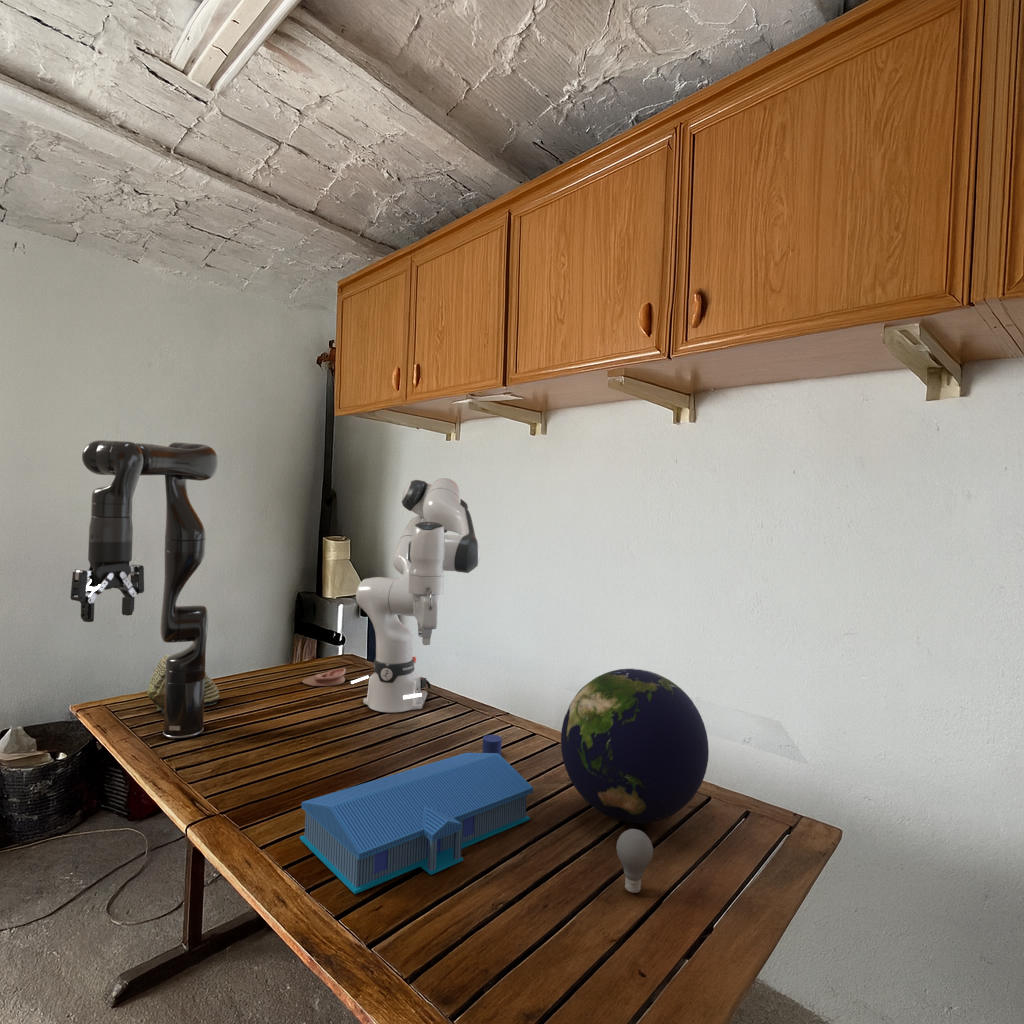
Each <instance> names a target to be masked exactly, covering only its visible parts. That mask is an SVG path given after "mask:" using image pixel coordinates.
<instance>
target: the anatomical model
mask: <svg viewBox="0 0 1024 1024" xmlns="http://www.w3.org/2000/svg"><path fill="white" fill-rule="evenodd" d="M346 672H347V669H346V668H345V667H340V668H336V669H333V670H329V671H326V672H321V673H317V674H315V675H313V676H309V677H307V678H304V679H303V680H302V681H301V683H303V684H305V685H308V686H313V687H329V686H336V685H341V684H343V683H345V681H346V678H345V675H346Z"/></svg>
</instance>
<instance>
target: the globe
mask: <svg viewBox="0 0 1024 1024" xmlns="http://www.w3.org/2000/svg"><path fill="white" fill-rule="evenodd" d="M562 722H563V723H562V727H561V733H560V748H561V756H562V762H563V765H564V768H565V770H566V773H567V775H568V778H569V780H570V782H571V783H572V785H573V786H574V788H575V790H576V791H577V792H578V794H579V795H580V796H581V797H582V798H583V799H584V800H585V801H586V802H587V804H589V805H590V806H591V807H593V808H594V809H595V810H596V811H598V812H600V813H601V814H603V815H605V816H607V817H609V818H611V819H613V820H617V821H619V822H624V823H630V824H648V823H649V824H650V823H654V822H659V821H662V820H665V819H667V818H670V817H671V816H673V815H675V814H677V813H678V812H680V811H681V810H682V809H683V808H685V807H686V806H687V805H688V804H689V803H690V802H691V800H692V799H693V798H694V797H695V795H696V794H697V792H698V791H699V789H700V787H701V786H702V784H703V781H704V779H705V777H706V776H705V775H706V773H707V768H708V764H709V756H710V755H709V752H710V751H709V739H708V732H707V728H706V726H705V723H704V720H703V717H702V714H700V712H699V709H698V708H697V706H696V704H695V703H694V701H693V700H692V698H691V697H689V695H688V694H687V693H686V692H685V691H684V690H683V689H682V688H681V687H680V686H678V685H677V684H676V683H675V682H673V681H671V680H670V679H669V678H666V677H665V676H663V675H661V674H658V673H657V672H653V671H650V670H645V669H641V668H619V669H615V670H611V671H607V672H604V673H602V674H601V675H598V676H596V677H594V678H593V679H591V680H590V681H588V682H587V683H586V684H585V685H583V686H582V687H581V689H579V691H578V692H577V693H576V694H575V695H574V697H573V699H572V700H571V702H570V703H569V705H568V707H567V709H566V711H565V715H564V718H563V721H562Z"/></svg>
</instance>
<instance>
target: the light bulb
mask: <svg viewBox="0 0 1024 1024" xmlns="http://www.w3.org/2000/svg"><path fill="white" fill-rule="evenodd" d="M615 849H616V854H617V857H618V859H619V861H620V863H621V865H622V867H623V873H624V874H623V875H624V876H625V878H624V888H625V890H627V891H628V892H630V893H634V894H635V893H639V892H640V891H641V889H642V887H641V886H642V879H643V877H644V875H645V871H646V868H647V867H648V866H649V864H650V863H651V861H652V859H653V855H654V847H653V843H652V841H651V838H649V836H648V835H647V834H646V833H645V832H643V831H642V830H641V829H636V828H629V829H627V830H625V831H623V832H622V833H621V834H620V835H619V837H618V839H617V841H616V847H615Z"/></svg>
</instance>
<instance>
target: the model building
mask: <svg viewBox="0 0 1024 1024" xmlns="http://www.w3.org/2000/svg"><path fill="white" fill-rule="evenodd" d="M533 793H534V787H533V786H532V785H531V784H530V783H529V782H528V781H527V780H526V779H525V778H524V777H523V776H522V775H521V774H520V773H519V772H518V771H517V770H516V769H515V768H514V767H513V766H512V765H511V764H510V763H509V762H508V761H507V760H506V759H505V758H504V757H503V756H502V754H501V755H500V754H499V753H482V752H464V753H460V754H457V755H454V756H451V757H447V758H444V759H441V760H438V761H434V762H431V763H427V764H424V765H421V766H418V767H414V768H411V769H407V770H404V771H401V772H398V773H394V774H390V775H388V776H384V777H381V778H377V779H374V780H371V781H368V782H367V781H366V782H364V783H360V784H358V785H354V786H351V787H347V788H344V789H341V790H337V791H334V792H330V793H327V794H324V795H321V796H318V797H317V796H316V797H314V798H310V799H308V800H303V801H301V803H300V805H301V806H300V808H301V809H302V810H303V811H304V812H305V815H304V816H305V817H304V821H305V822H304V834H303V835H300V836H299V840H300V841H301V842H302V843H303V844H304V845H305V846H306V847H307V848H308V849H309V850H310V852H312V853H313V854H314V855H315V856H316V857H317V858H318V859H319V860H320V861H321V862H322V863H323V864H324V865H325V866H326V867H327V868H328V869H329V870H330V871H331V872H332V873H333V874H334V875H335V876H336V877H337V878H338V879H339V880H340V881H341V883H343V884H344V886H346V887H347V889H349V890H350V891H351V892H352V893H353V895H357V894H359V893H363V892H364V891H366V890H370V889H371V888H373V887H376V886H378V885H381V884H383V883H385V882H388V881H390V880H392V879H394V878H397V877H400V876H402V875H404V874H406V873H409V872H411V871H413V870H416V869H418V868H421V869H422V870H424V872H426V873H427V874H428V875H429V876H433V875H434V874H437V873H440V872H441V871H444V870H445V869H448V868H450V867H452V866H455V865H457V864H459V863H461V862H464V857H462V849H465V848H467V847H470V846H472V845H474V844H476V843H479V842H482V841H484V840H486V839H488V838H490V837H493V836H496V835H497V834H500V833H502V832H506V831H508V830H510V829H512V828H515V827H516V826H519V825H521V824H524V823H526V822H528V821H530V820H531V817H530V816H528V815H527V801H528V795H531V794H533Z"/></svg>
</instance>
